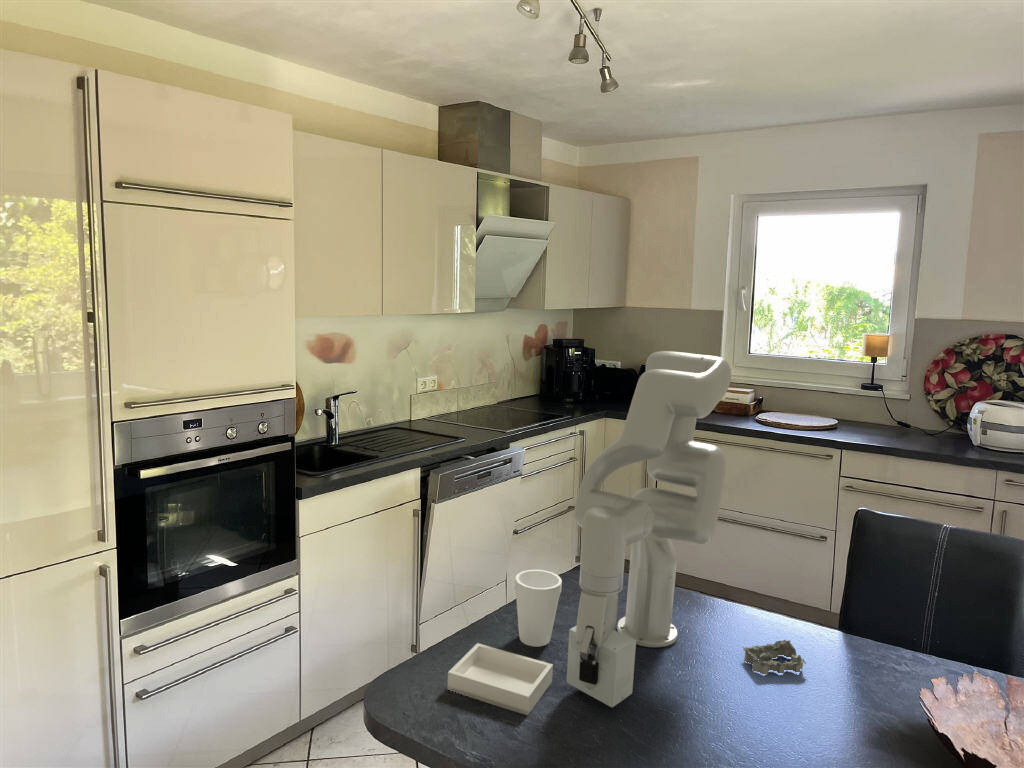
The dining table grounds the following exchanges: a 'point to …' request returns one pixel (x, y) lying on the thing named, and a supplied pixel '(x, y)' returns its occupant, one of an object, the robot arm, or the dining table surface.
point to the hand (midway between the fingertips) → (595, 668)
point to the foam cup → (536, 605)
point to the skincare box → (605, 668)
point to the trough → (501, 678)
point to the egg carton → (772, 651)
